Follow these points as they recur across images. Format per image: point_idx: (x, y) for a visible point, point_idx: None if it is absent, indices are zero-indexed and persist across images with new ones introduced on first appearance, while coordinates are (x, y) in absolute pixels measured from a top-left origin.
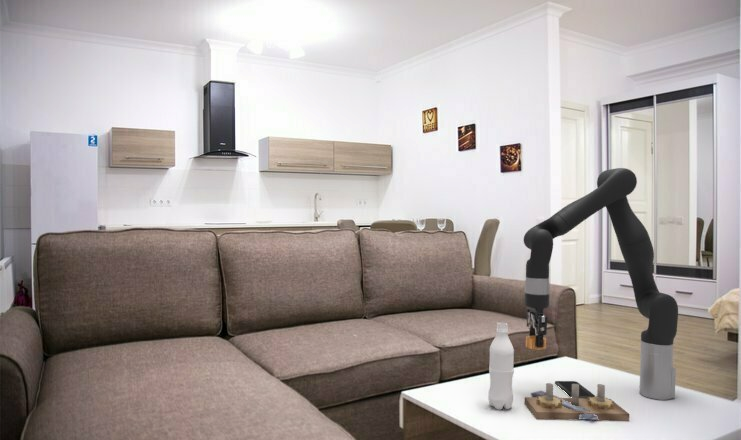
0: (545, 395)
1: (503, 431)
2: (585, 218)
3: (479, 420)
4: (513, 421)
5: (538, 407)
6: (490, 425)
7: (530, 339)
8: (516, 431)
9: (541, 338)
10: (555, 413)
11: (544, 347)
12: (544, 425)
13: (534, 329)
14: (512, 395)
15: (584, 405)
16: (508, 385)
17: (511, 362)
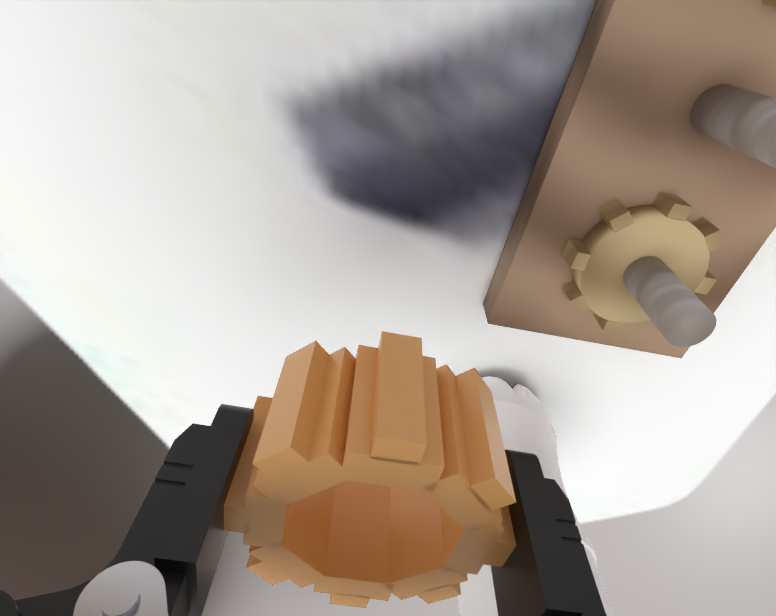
0: (577, 261)
1: (694, 470)
2: None
3: (582, 494)
4: (639, 417)
5: (639, 327)
6: (633, 483)
7: (436, 596)
8: (718, 440)
9: (584, 594)
10: (732, 281)
11: (493, 405)
12: (735, 338)
13: (176, 608)
14: (546, 424)
15: (755, 38)
16: (563, 486)
17: (610, 608)
